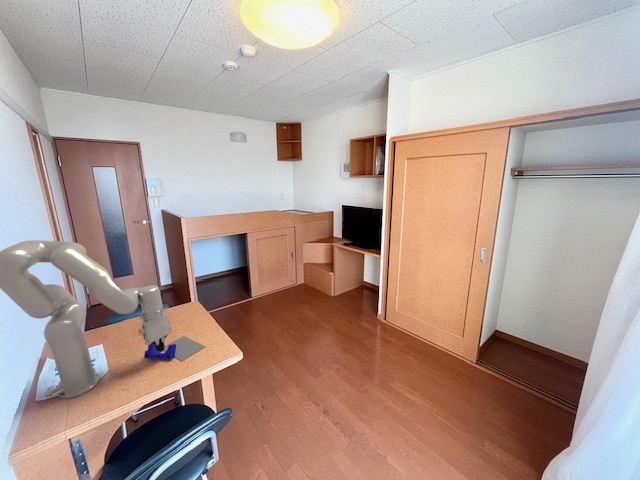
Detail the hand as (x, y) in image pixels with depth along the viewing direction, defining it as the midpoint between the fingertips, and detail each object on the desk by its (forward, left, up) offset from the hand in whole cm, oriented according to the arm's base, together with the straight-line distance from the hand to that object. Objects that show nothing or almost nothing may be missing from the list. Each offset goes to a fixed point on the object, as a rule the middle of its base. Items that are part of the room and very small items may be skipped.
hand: (160, 350), depth 116 cm
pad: (+10, 0, -5) cm, 11 cm away
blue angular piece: (-1, +2, -4) cm, 5 cm away
